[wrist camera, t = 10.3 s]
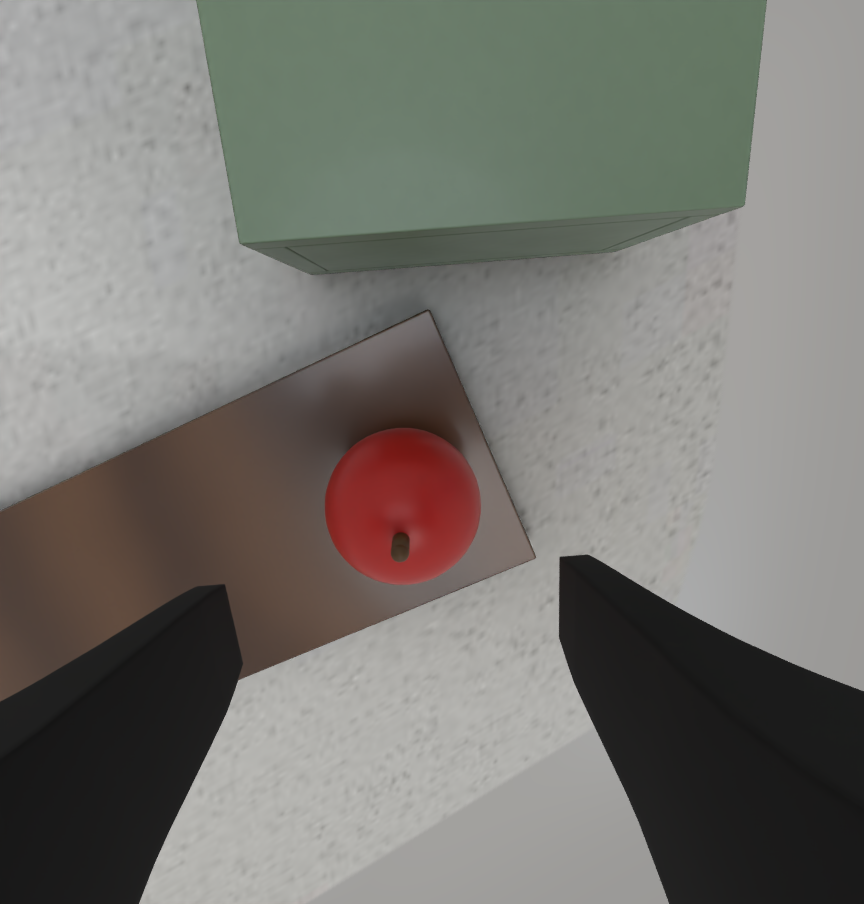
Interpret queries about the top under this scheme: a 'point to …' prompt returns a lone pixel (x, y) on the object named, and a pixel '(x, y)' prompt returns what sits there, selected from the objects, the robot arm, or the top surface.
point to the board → (243, 516)
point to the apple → (402, 506)
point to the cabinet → (478, 124)
